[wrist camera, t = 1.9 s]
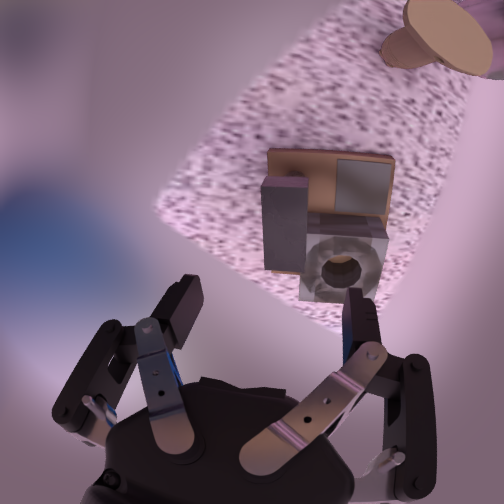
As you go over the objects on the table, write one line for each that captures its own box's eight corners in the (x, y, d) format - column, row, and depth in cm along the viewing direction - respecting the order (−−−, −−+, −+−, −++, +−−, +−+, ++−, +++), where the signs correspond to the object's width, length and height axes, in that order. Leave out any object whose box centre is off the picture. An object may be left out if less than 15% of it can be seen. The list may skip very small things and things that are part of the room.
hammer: (280, 151, 28) (260, 186, 18) (310, 152, 27) (307, 187, 18) (281, 211, 31) (264, 269, 22) (309, 212, 31) (304, 272, 21)
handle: (372, 25, 19) (417, -22, 6) (423, 54, 19) (498, 39, 7) (358, 58, 21) (398, 28, 9) (409, 87, 22) (481, 90, 9)
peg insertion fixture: (269, 148, 30) (258, 163, 24) (390, 155, 27) (409, 173, 21) (273, 264, 38) (265, 297, 32) (372, 270, 35) (380, 305, 30)
